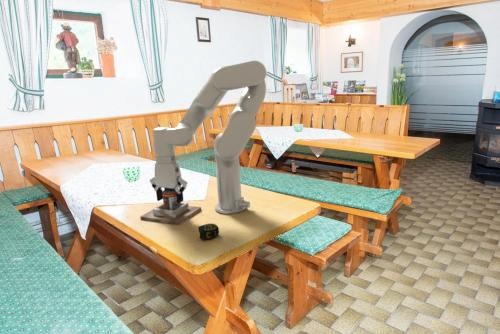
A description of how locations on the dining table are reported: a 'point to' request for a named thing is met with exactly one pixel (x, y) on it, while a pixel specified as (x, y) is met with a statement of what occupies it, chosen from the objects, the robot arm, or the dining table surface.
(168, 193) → the supplement bottle
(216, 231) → the tape measure
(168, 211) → the holder
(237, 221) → the dining table surface
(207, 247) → the dining table surface
